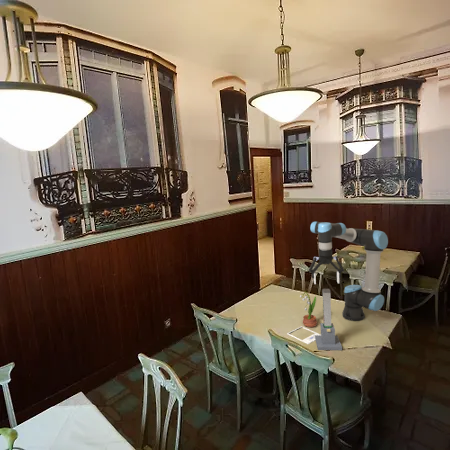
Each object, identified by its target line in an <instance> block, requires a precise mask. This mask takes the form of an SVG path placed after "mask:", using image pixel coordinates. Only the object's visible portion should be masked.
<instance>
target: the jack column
mask: <svg viewBox="0 0 450 450" xmlns="http://www.w3.org/2000/svg"><path fill="white" fill-rule="evenodd" d="M331 295H332V294H331V289H330V288H322V313H323V315H322V316H323V324H324V328H332V326H331V323H332V306H331V303H332V302H331Z"/></svg>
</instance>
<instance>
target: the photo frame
mask: <svg viewBox="0 0 450 450" xmlns="http://www.w3.org/2000/svg"><path fill="white" fill-rule="evenodd" d="M300 328H302V329H304V330H306V331H309V332H310V333H313V334H311V335H310V336H307V337H306V338H304V339H301V338H299V337H296V336H295V335H293V334H290V333H292V332H295V331H296V330H299V329H300ZM286 334H287V335H288V336H290V337H292V338H295V339H296V340H298V341H300V342H302V343H305V344H307V345H310V344H312V343H313V342H316V340H315V335H321V333H318V332H316V331H314V330H311V329H309V328H308V327H306V326H302V325H301V326H299V327H297V328H295V329H293V330H291V331H289V332H287V333H286Z"/></svg>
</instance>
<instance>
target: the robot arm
mask: <svg viewBox="0 0 450 450" xmlns="http://www.w3.org/2000/svg"><path fill="white" fill-rule="evenodd" d="M309 228H310V232H311V233H313V234H317V235H318V256H313V258H312V259H313V260H312V262H311V264H310V266H309V268H308V273H311V278H312V279H313V283H314V285H316V284H317V283H316V281H317V280H316V271H317V270H318V269H319V268H320V266H322V265H329V264H330V265H331V266H333V268H334V269H335V270H336V282H337V284H340V279H341V277H342V272H344V271H345V270H344V268H343V266H342V264H341V262H340V260H339V257H338V255H335V256H333V249H332V248H333V241H332V240H333V238H338V239H342V240H345V241H346V242H348V243H352V244H355V245H359V246H362V247H364V248H363V249H364V251H365V253H366V256H365V257H366V258H365V270H364V271H365V272H364V273H365V275H364V287H362V285H360V284H350V285H346V286H345V287H344V291H343V293H344V307H343V310H342V315H341V316H342V318H344V319H345V320H347V321H351V322H360V321H363V320H365V318H366V317H365V316H366V314H365V311H364V308H365V309H368V310H370V311H373V312H377V311H379V310H381V309H382V307H383V305H384V303H385V297H384V295H382V294H381V290H380V289H379V285H380V284H379V283H380V271H381V270H380V269H381V267H380V266H381V254H382V253H383V252H384V250H385V249H386V248H387V247H388V244H389V238H388V235H387V234H386V232H384V231H381V230H378V229H377V230H375V229H365V228H352V227H351V228H350V227H349V228H347V227H346V225H345V224H344V223H342V222H337V223H333V222H325V221H324V222H323V221H320V222H319V221H312V222H311V224H310V227H309ZM318 260H319V261H318ZM333 260H334V261H336V263H337V265H338V266H337V265H336V264H335V263H334V262H333ZM317 261H318V263H317ZM316 263H317V264H316ZM315 264H316V265H315Z"/></svg>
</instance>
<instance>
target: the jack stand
mask: <svg viewBox="0 0 450 450" xmlns="http://www.w3.org/2000/svg"><path fill="white" fill-rule="evenodd" d="M319 323H320V322H319ZM323 323H324V322H323ZM323 323H322V322H321V323H320V335H315V344H316V348H317V350H318V351H343V346H342V344H341V342H340V338H339V336H338V335H336V329H335V326H334V323H332V322H331V326H332V328H324V324H323Z"/></svg>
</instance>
